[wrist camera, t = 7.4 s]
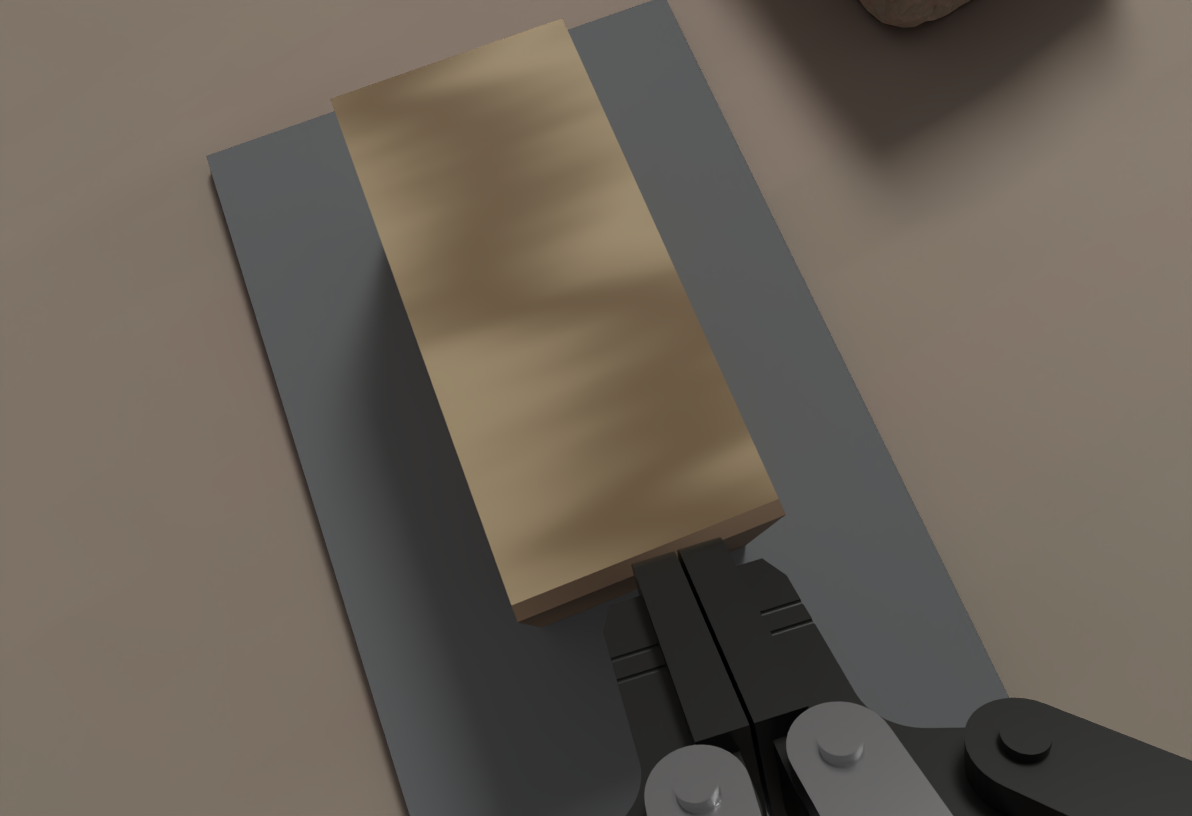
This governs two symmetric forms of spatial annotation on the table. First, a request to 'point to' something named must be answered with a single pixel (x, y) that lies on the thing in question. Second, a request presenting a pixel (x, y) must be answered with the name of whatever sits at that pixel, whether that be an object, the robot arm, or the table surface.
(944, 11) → the brick
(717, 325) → the mat
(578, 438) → the oak block
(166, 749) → the table surface
